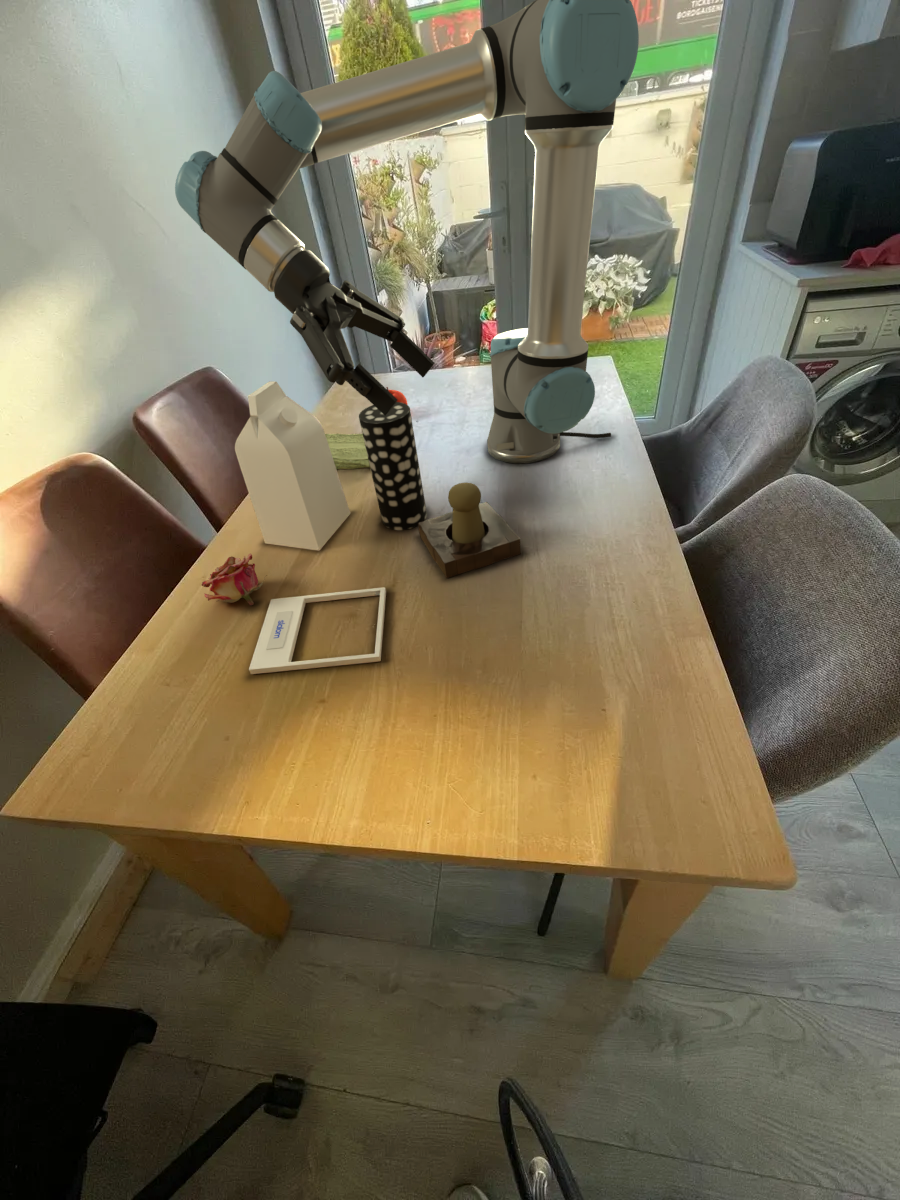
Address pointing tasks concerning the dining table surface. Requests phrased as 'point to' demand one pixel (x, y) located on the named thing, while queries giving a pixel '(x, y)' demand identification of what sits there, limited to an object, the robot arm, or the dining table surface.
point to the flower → (233, 580)
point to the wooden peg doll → (466, 513)
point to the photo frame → (284, 629)
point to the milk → (289, 472)
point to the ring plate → (469, 555)
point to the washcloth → (348, 450)
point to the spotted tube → (394, 465)
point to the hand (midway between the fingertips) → (411, 388)
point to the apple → (398, 396)
